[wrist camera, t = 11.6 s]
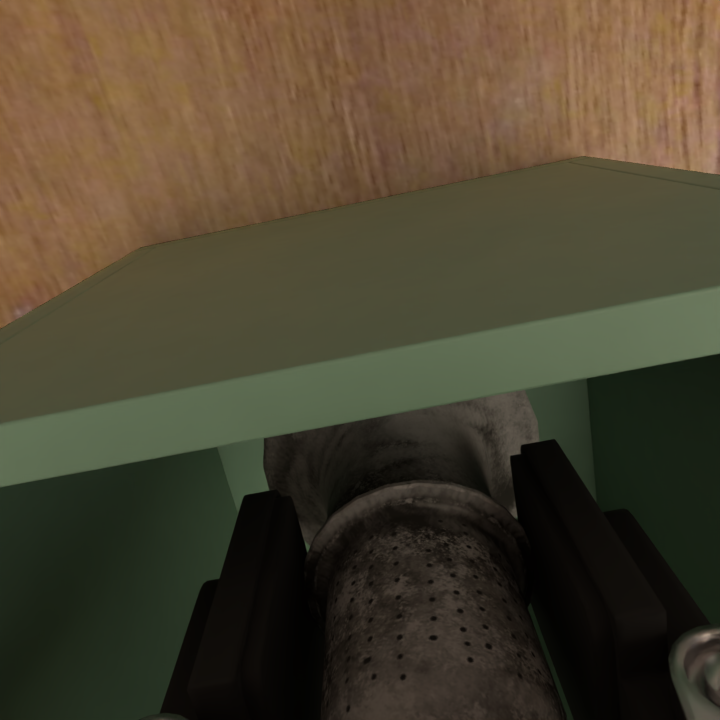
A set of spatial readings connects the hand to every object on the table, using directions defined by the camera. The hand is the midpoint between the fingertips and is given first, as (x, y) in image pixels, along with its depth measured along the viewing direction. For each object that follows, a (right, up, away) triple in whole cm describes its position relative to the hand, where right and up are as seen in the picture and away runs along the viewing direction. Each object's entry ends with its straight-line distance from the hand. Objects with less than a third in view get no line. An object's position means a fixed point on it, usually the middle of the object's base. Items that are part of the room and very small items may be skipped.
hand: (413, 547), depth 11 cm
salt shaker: (0, +2, +6) cm, 7 cm away
